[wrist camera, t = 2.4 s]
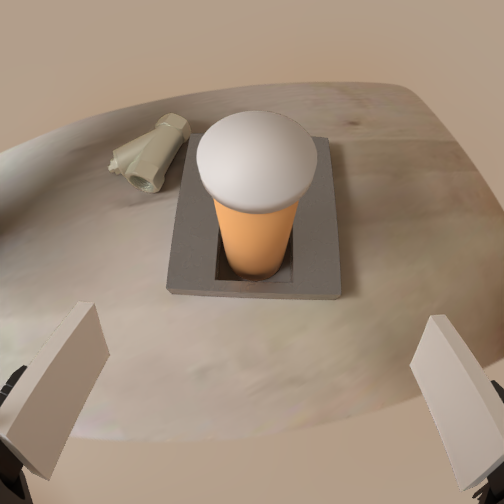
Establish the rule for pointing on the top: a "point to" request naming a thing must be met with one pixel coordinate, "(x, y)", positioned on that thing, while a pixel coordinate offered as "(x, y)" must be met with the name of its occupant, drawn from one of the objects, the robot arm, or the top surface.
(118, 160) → the pipe fitting
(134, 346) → the top surface
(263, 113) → the orange pill bottle
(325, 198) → the plate
